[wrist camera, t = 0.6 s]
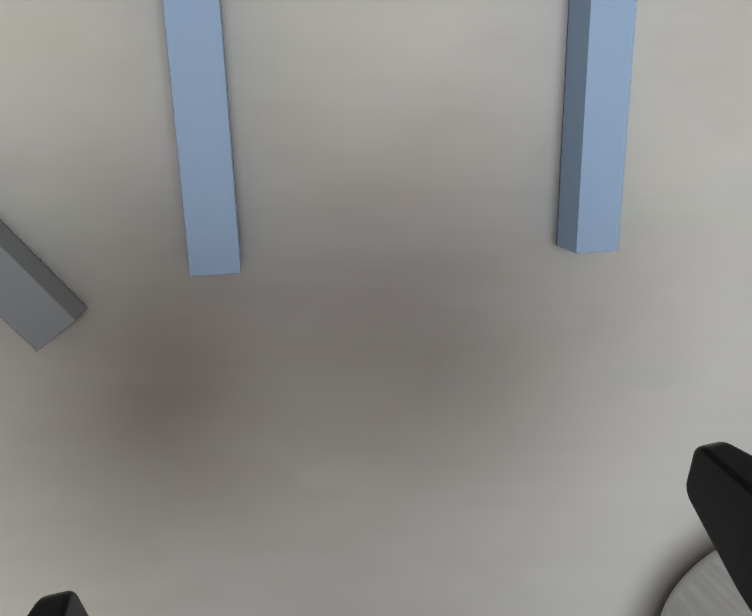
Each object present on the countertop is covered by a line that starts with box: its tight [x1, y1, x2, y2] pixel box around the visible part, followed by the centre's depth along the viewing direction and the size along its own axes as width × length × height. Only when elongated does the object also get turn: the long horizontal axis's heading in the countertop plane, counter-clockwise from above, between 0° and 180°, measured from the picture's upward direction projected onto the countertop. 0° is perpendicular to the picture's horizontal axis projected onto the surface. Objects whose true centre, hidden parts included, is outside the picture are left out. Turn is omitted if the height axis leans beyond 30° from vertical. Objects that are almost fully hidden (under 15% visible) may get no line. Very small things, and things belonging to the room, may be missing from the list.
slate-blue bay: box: [163, 0, 637, 276], centre depth 21 cm, size 12×14×2 cm
